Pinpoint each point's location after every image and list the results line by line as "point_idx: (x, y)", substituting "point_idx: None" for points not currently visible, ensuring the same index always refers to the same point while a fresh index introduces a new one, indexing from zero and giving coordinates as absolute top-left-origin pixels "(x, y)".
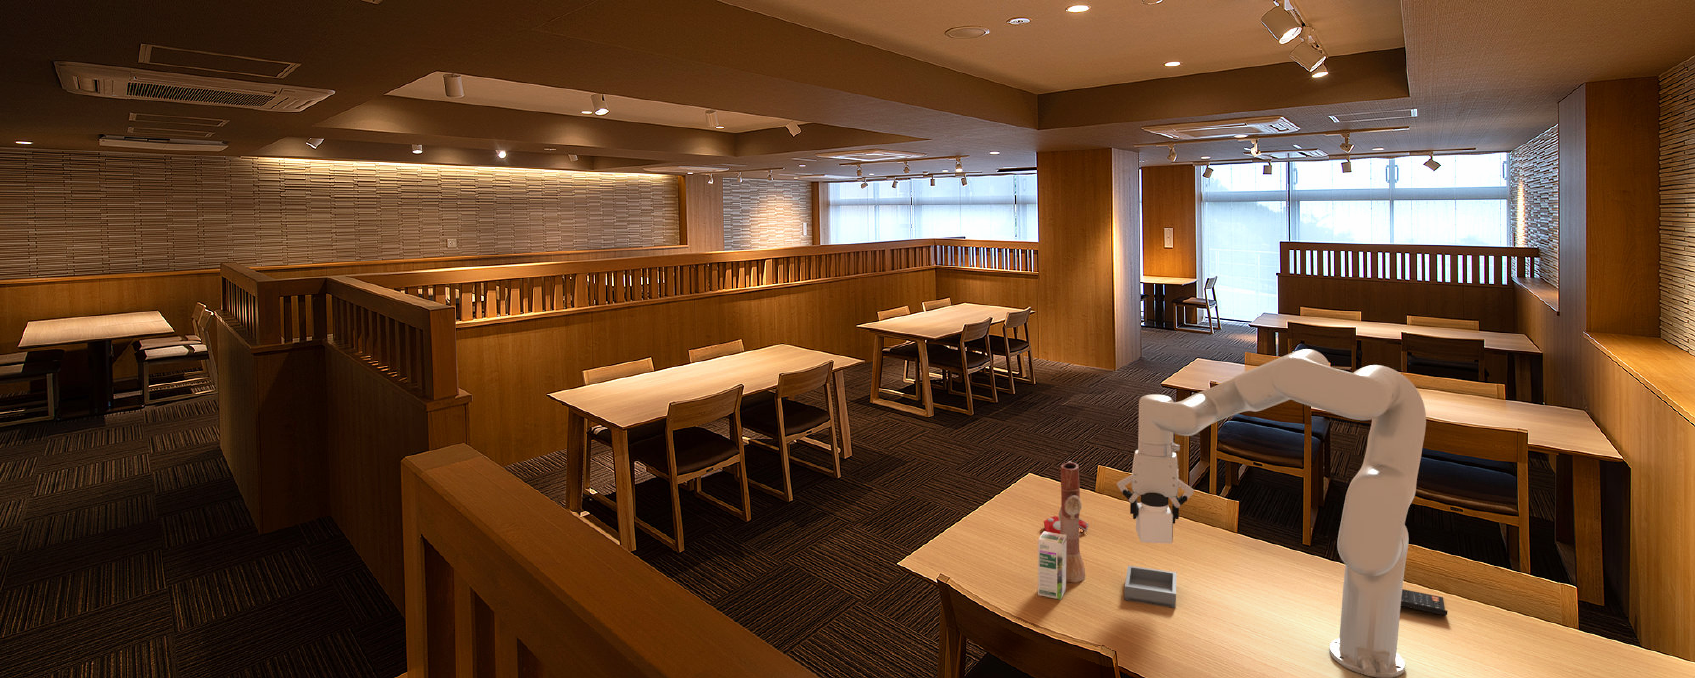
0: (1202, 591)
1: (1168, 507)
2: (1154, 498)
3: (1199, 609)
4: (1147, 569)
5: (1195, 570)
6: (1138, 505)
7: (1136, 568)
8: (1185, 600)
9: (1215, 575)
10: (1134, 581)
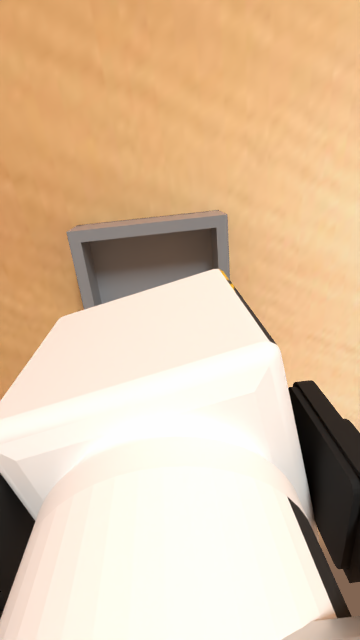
0: (290, 213)
1: (290, 435)
2: None
3: (277, 317)
4: (134, 233)
5: (275, 48)
6: (18, 491)
7: (98, 239)
8: (245, 287)
9: (339, 65)
10: (104, 258)
